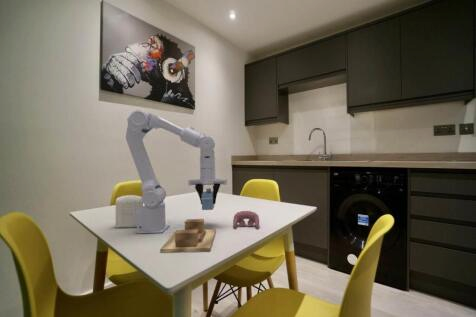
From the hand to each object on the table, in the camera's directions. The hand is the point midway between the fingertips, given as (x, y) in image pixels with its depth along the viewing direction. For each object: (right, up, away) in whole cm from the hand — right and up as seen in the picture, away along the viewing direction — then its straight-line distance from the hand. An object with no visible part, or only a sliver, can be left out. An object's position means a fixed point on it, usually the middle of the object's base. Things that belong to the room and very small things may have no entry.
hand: (208, 203), depth 83 cm
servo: (0, -2, 0) cm, 2 cm away
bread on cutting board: (-3, -9, -14) cm, 17 cm away
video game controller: (+14, -9, -1) cm, 17 cm away
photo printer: (-32, -10, +3) cm, 33 cm away
